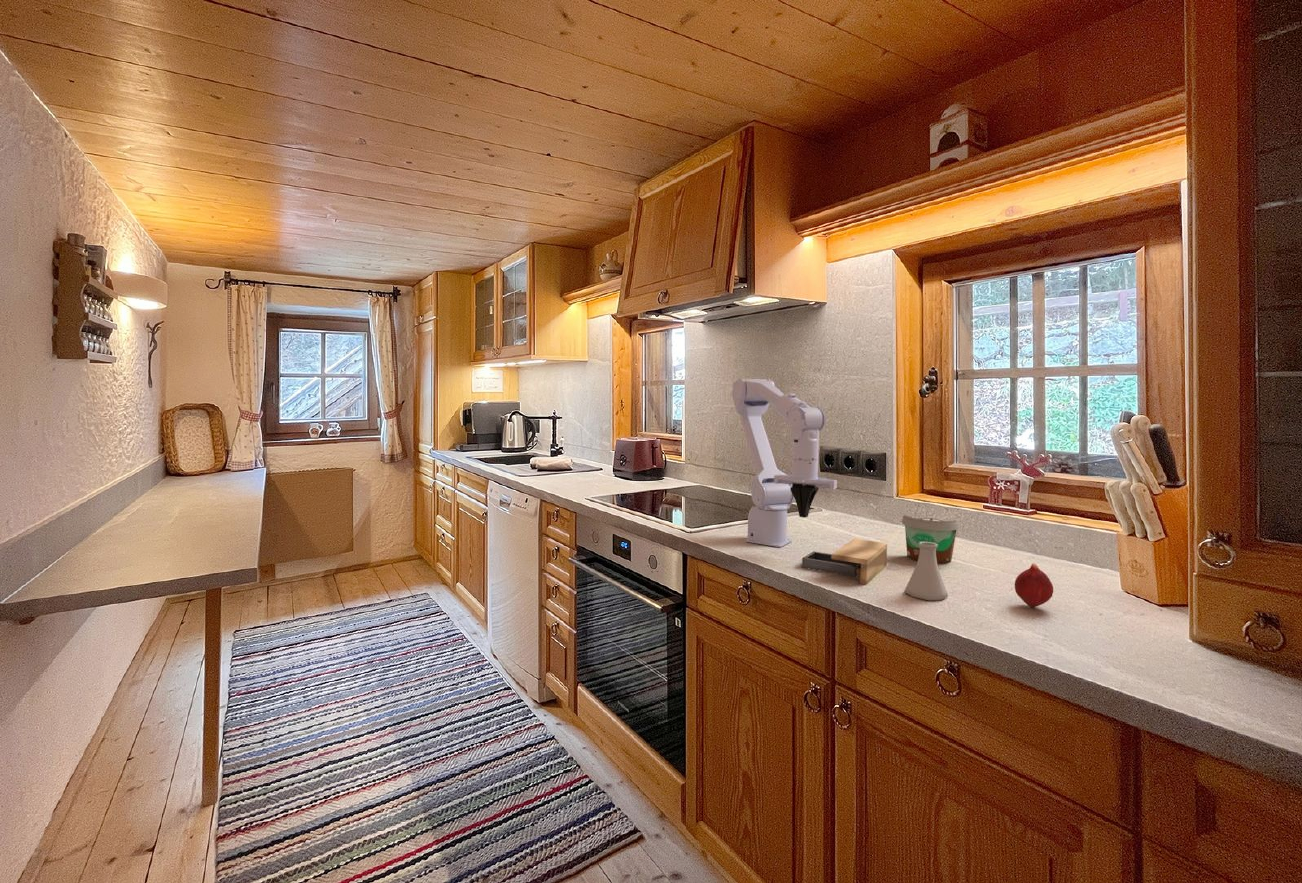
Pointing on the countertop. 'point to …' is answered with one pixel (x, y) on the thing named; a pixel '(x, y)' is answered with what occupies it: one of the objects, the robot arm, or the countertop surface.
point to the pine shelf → (864, 557)
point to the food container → (930, 536)
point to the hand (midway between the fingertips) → (803, 516)
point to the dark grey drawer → (829, 564)
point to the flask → (926, 575)
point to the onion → (1033, 586)
